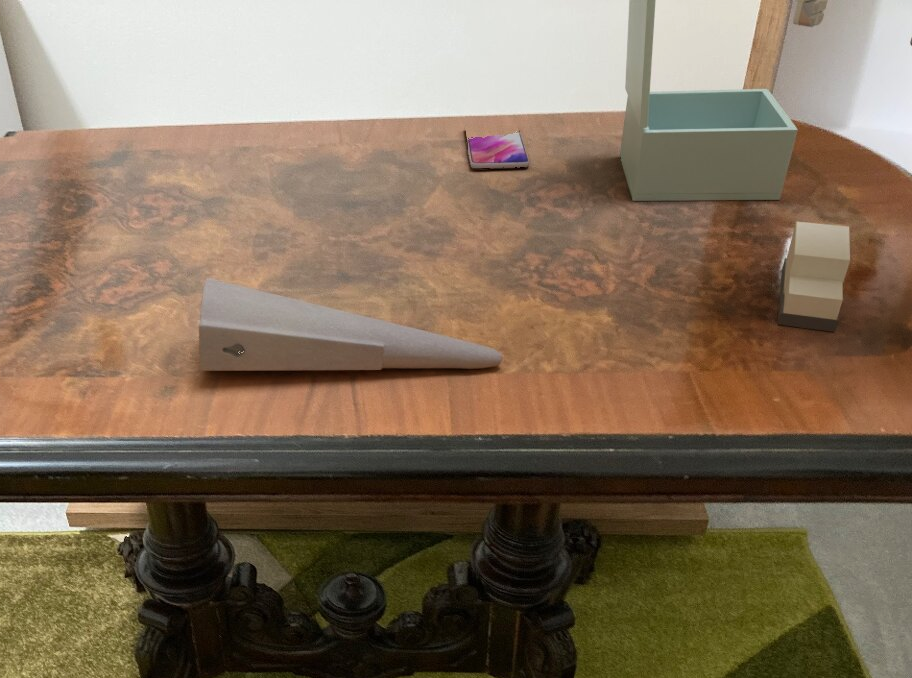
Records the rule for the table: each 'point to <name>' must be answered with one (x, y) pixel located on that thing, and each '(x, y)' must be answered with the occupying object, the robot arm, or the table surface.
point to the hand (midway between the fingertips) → (863, 35)
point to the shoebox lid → (640, 57)
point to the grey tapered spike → (316, 337)
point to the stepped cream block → (814, 276)
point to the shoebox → (708, 146)
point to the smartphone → (498, 151)
